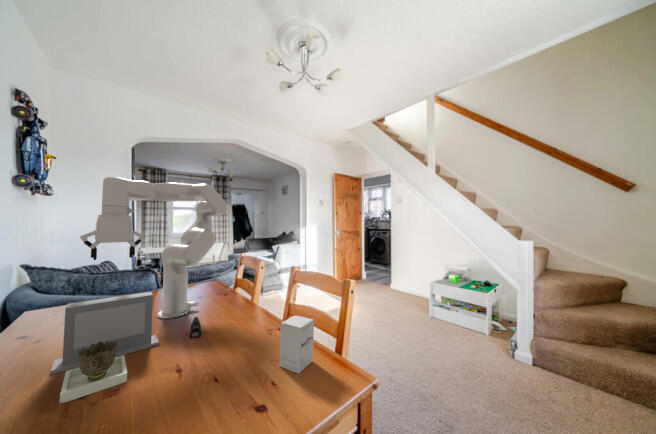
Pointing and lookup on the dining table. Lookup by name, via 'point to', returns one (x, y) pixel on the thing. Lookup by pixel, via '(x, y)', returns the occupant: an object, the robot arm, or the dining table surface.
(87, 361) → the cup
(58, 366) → the grey sign holder
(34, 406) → the dining table surface
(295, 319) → the supplement box
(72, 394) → the parts tray
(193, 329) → the electric trimmer
